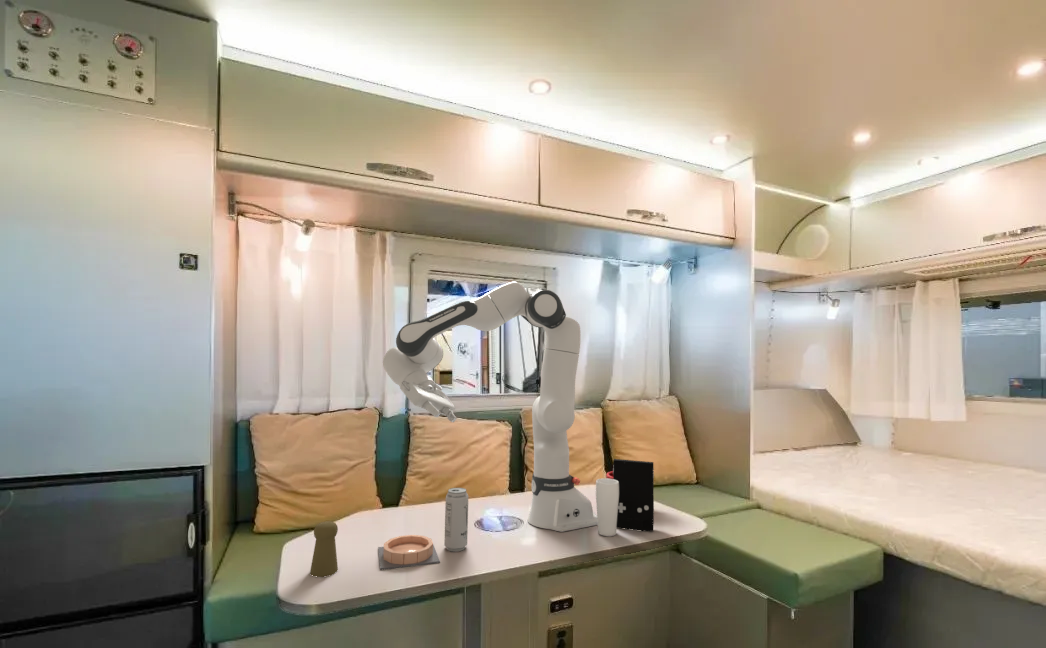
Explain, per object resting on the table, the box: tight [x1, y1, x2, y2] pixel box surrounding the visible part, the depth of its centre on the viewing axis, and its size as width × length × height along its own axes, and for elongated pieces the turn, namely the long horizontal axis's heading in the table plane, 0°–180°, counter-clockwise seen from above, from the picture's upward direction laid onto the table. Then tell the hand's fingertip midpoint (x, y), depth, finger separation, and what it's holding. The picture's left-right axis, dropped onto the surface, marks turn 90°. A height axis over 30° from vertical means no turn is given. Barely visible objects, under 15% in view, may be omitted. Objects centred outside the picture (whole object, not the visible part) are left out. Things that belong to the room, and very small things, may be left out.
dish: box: [377, 534, 441, 571], centre depth 121 cm, size 14×13×3 cm
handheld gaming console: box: [612, 458, 655, 532], centre depth 145 cm, size 12×5×20 cm, turn 72°
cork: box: [309, 521, 339, 578], centre depth 112 cm, size 6×6×11 cm
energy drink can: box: [444, 487, 469, 552], centre depth 127 cm, size 6×6×15 cm
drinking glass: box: [595, 477, 619, 537], centre depth 139 cm, size 7×7×15 cm
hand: (446, 417), depth 138 cm, fingers open, 8 cm apart
